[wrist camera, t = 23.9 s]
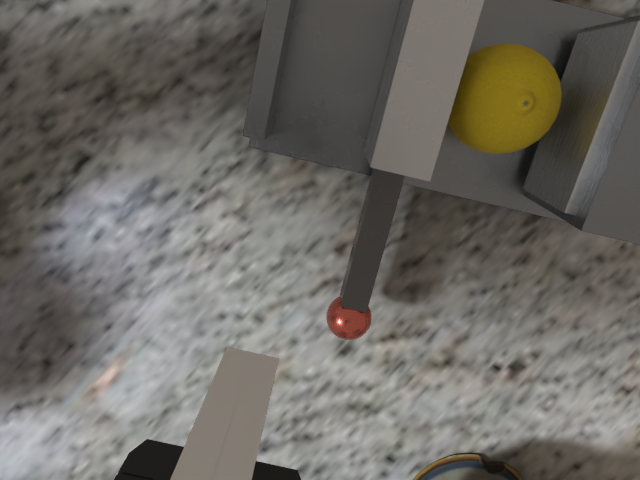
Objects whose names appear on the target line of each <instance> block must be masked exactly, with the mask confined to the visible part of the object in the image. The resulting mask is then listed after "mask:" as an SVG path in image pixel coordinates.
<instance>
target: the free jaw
mask: <svg viewBox="0 0 640 480" xmlns="http://www.w3.org/2000/svg"><path fill="white" fill-rule="evenodd" d="M483 3H484V0H402V1H401V5H400V9H399V13H398V17H397V21H396V25H395V29H394V33H393V37H392V41H391V45H390V48H389V52H388V56H387V60H386V64H385V68H384V72H383V76H382V80H381V84H380V88H379V92H378V96H377V99H376V103H375V107H374V111H373V115H372V119H371V123H370V127H369V131H368V135H367V139H366V143H365V147H364V152H365V154H366V157H367V160H368V163H369V166H370V167H371V168H373V171H372V175H371V179H370V182H369V186H368V190H367V194H366V198H365V201H364V205H363V209H362V213H361V217H360V220H359V224H358V228H357V232H356V236H355V239H354V243H353V247H352V251H351V255H350V258H349V262H348V266H347V270H346V274H345V277H344V281H343V285H342V289H341V293H340V297H338V298H336V299H335V300H334V301H333V302H332V303H331V304H330V306H329V308H328V311H327V324H328V326H329V328H330V330H331V331H332V332H333V333H334V334H335V335H336V336H337V337H339V338H342V339H345V340H353V339H357V338H359V337H361V336H362V335H364V334H365V333H366V331H367V330H368V328H369V326H370V324H371V311H370V308H369V306H368V304H369V301H370V297H371V294H372V290H373V286H374V283H375V279H376V276H377V272H378V269H379V265H380V262H381V258H382V255H383V251H384V248H385V244H386V241H387V237H388V234H389V230H390V226H391V223H392V219H393V216H394V212H395V209H396V205H397V202H398V198H399V195H400V191H401V188H402V184H403V181H404V177H405V176H409V177H413V178H417V179H421V180H425V181H430V180H431V177H432V173H433V170H434V167H435V163H436V160H437V157H438V153H439V150H440V147H441V143H442V140H443V137H444V133H445V130H446V127H447V123H448V120H449V117H450V113H451V110H452V107H453V103H454V100H455V97H456V93H457V90H458V87H459V83H460V80H461V77H462V73H463V70H464V66H465V63H466V60H467V56H468V53H469V50H470V46H471V43H472V40H473V36H474V33H475V30H476V26H477V23H478V20H479V16H480V13H481V10H482V6H483Z"/></svg>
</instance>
